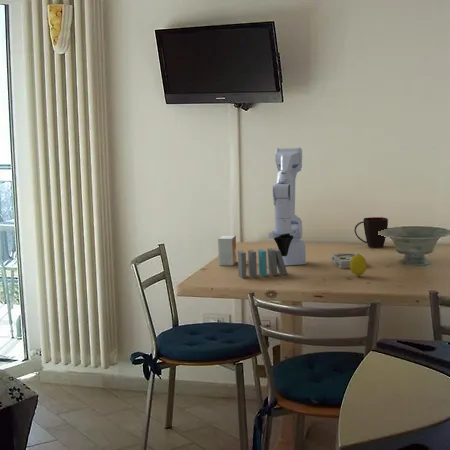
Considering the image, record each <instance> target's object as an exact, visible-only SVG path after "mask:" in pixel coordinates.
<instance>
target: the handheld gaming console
mask: <svg viewBox="0 0 450 450" xmlns="http://www.w3.org/2000/svg"><path fill="white" fill-rule="evenodd" d="M355 255H357V253H355V252H348V253H331V254H330V262H331V263H333V264H334V265H335V266H337V267H338V268H339V269H342V270H344V269H345V270H346V269H350V262H351V259H352V257H353V256H355Z"/></svg>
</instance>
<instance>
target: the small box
mask: <svg viewBox="0 0 450 450" xmlns="http://www.w3.org/2000/svg"><path fill="white" fill-rule="evenodd" d="M217 244H218V265H219V266H234V265H235V264H236V263H237V236H236V235H221V236H220V237H219V238H217Z"/></svg>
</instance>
